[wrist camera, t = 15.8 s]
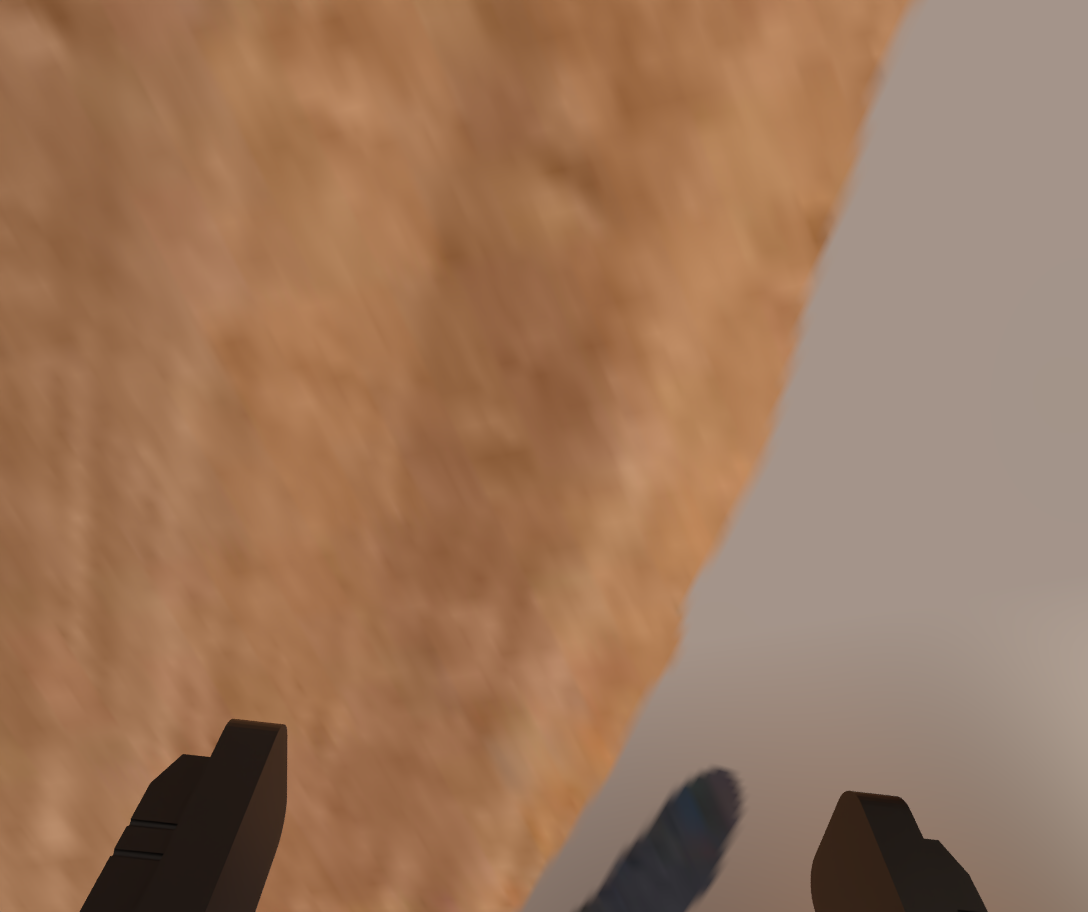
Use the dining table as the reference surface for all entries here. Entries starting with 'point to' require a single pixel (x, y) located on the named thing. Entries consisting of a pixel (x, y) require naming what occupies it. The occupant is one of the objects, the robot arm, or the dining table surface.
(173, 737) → the dining table surface
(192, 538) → the dining table surface
